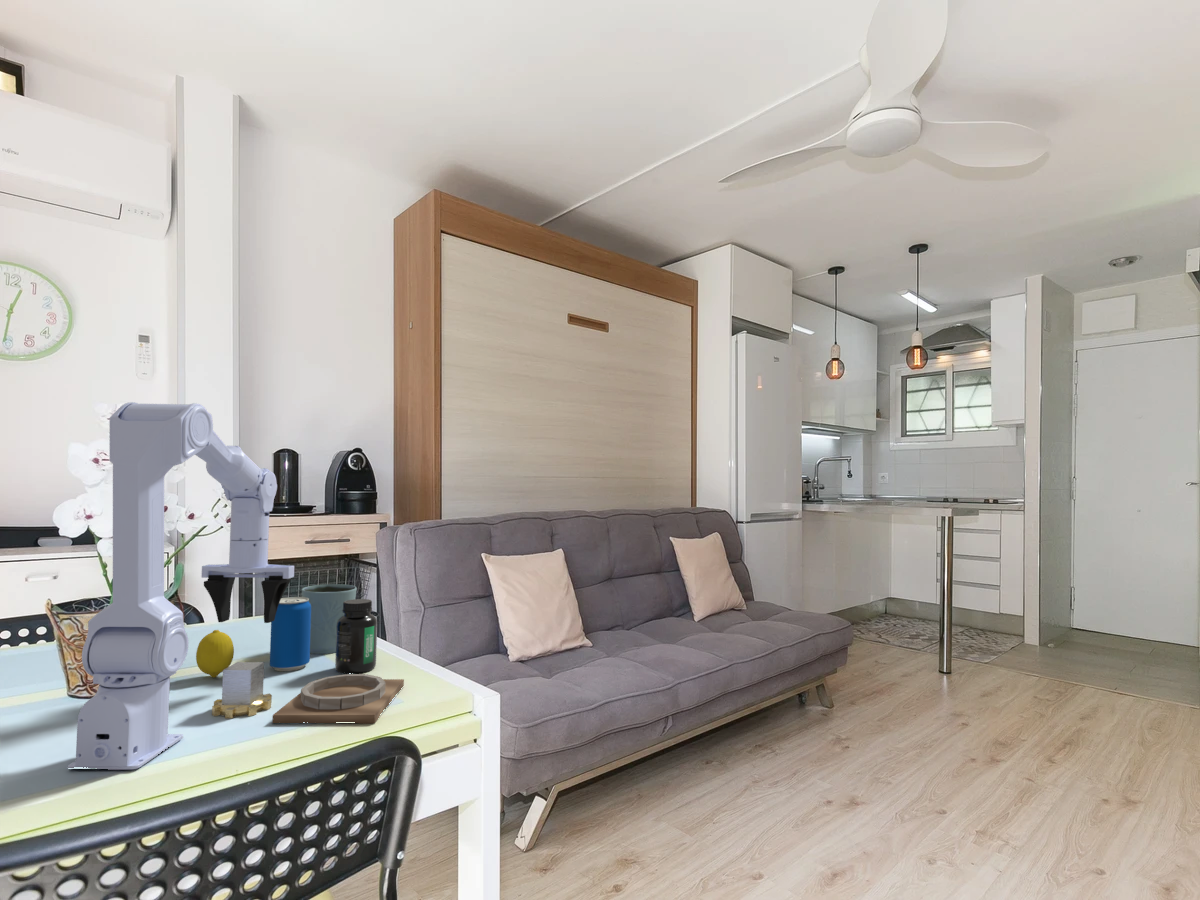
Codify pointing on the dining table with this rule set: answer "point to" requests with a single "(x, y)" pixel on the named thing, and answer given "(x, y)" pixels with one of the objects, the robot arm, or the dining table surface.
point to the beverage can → (291, 634)
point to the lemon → (214, 653)
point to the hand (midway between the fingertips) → (246, 621)
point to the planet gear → (242, 691)
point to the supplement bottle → (356, 637)
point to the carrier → (340, 700)
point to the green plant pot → (326, 614)
